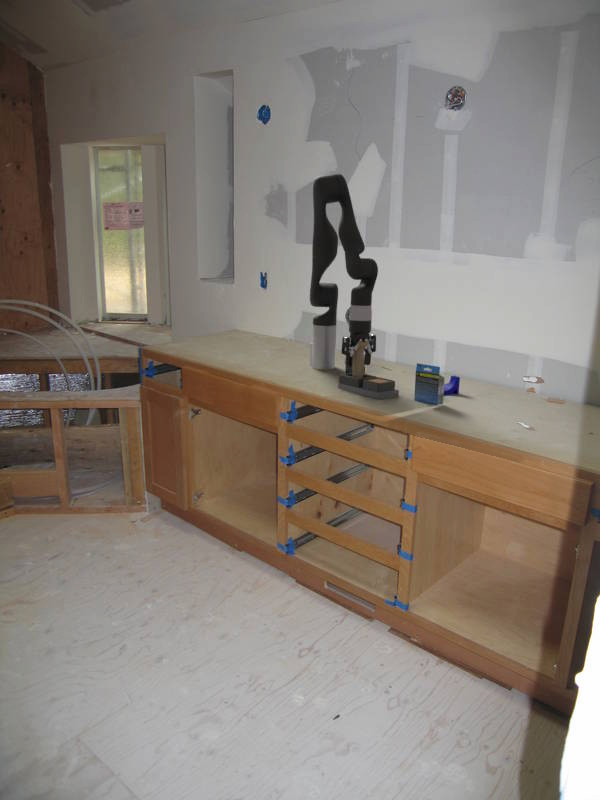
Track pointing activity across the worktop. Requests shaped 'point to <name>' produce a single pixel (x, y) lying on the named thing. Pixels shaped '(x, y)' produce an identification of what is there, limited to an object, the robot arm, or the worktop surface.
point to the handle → (359, 360)
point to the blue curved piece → (452, 386)
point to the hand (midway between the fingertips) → (358, 365)
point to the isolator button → (378, 380)
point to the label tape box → (429, 384)
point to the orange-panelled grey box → (368, 386)
